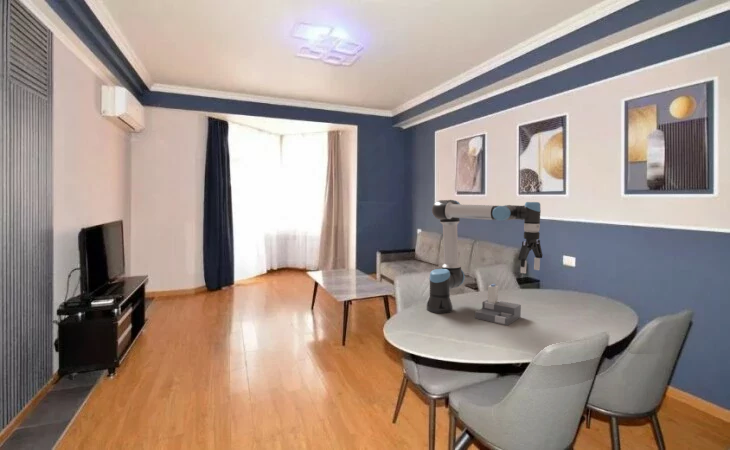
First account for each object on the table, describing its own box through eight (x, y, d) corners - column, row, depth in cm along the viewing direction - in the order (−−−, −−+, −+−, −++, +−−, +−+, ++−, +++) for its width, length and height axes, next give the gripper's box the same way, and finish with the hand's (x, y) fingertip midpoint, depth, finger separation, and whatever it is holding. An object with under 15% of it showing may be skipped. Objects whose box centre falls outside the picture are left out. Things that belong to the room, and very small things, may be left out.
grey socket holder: (474, 318, 205) (475, 305, 204) (489, 310, 218) (489, 298, 218) (507, 325, 193) (507, 312, 192) (520, 317, 206) (520, 304, 205)
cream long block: (487, 307, 212) (488, 284, 211) (490, 305, 215) (491, 283, 214) (494, 308, 209) (495, 285, 208) (497, 306, 212) (498, 284, 211)
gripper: (525, 233, 185) (524, 275, 187) (550, 230, 200) (548, 269, 202) (511, 232, 191) (510, 273, 193) (536, 229, 206) (535, 267, 208)
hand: (530, 271), depth 197 cm, fingers open, 13 cm apart
